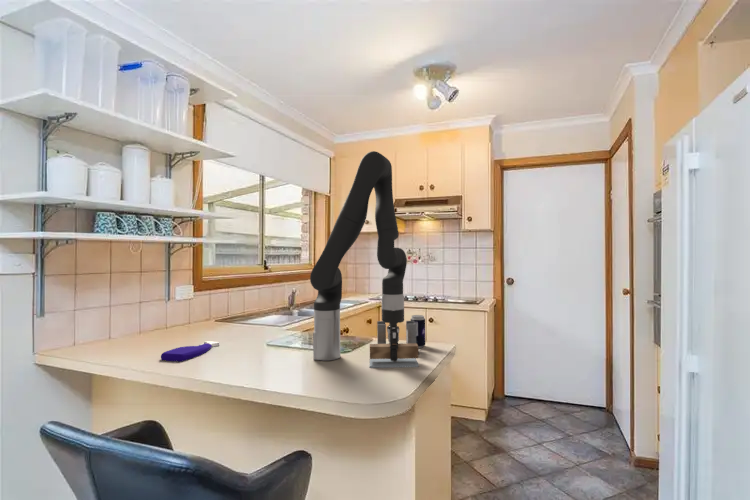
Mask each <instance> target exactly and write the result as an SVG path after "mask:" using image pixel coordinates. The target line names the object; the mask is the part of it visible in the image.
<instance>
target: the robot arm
mask: <svg viewBox="0 0 750 500" xmlns="http://www.w3.org/2000/svg"><path fill="white" fill-rule="evenodd" d="M373 190H374V192H375V211H374V218H375V219H374V221H375V226H376V232H377V244H376V245H377V248H376V258H377V262H378V264H379V265H380V267H382V269H385V270H387V274H386V275H385V276H384V277H383V278H382V281H381V289H382V290H381V293H382V295H381V321H383V322H385V324H386V323H387V324H388V326H387V325H386V333H387V339H388V344H390V359H391V361H397V349H398V344H399V342H400V341H399V340H400V335H399V334H400V326H398V323H400V324H401V323H403V322H404V321H405V298H404V278H405V273H406V270H407V265H408V259H407V255H406V252H405V250H404V249H403V248H401V247H395V240H397V239H398V238H399V227H398V221H397V217H396V212H395V211H396V209H395V203H394V195H393V167H392V163H391V161H390V160H389V159H388V158H387V157H386V156H384V155H383V154H382V153H380V152H378V151H373V150H372V151H369V152H367V153H365V154H364V156H363V157H362V158H361V160H360V163H359V165H358V168H357V170H356V174H355V176H354V180H353V183H352V185H351V188H350V190H349V193H348V195H347V196H346V199H345V200H344V203H343V206H342V207H341V210H340V212H339V214H338V216H337V219H336V221H335V223H334V224H333V225H334V226H333V228H332V230H331V232H330V234H329V236H328V239H327V242H326V245H325V246H324V249H323V250H322V252H321V254H320V256H319V257H318V260H317V261H316V262H315V265H314V266H313V268H312V270H311V272H310V275H309V276H310V277H309V279H310V284H311V286H312V287H313V289H314V290H316V291H317V295H316V298H315V300H314V301H313V332H312V340H313V341H312V342H313V343H312V345H313V346H312V351H313V352H312V353H313V360H316V361H317V360H318V361H334V360H338V359H340V358H341V302H342V297H343V275H342V271H341V269H340V268H339V266H340V264H341V262H342V259H343V258H344V257H345V255H346V254H347V252H349V249H351V247H352V246H353V245H354V244H355V242H356V241H357V239H358V238H359V235H360V234H361V231H362V229H363V227H364V225H365V223H366V220H367V215H368V210H369V209H368V208H369V202H370V196H371V194H372V191H373ZM392 344H396V345H392Z"/></svg>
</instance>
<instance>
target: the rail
mask: <svg viewBox="0 0 750 500" xmlns="http://www.w3.org/2000/svg"><path fill="white" fill-rule="evenodd" d="M392 345H396V344H392ZM418 351H419V348H418V345H417V343H398V349H397V359H411V358H416V359H419V355H418ZM370 359H390V344H389V343H386V344H377V343H369V360H370Z"/></svg>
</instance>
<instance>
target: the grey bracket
mask: <svg viewBox="0 0 750 500" xmlns="http://www.w3.org/2000/svg"><path fill="white" fill-rule="evenodd" d="M405 327H406V329H405V334H406V336H405V337H406V338H405V339H406V340H405V341H406V343H416V324H414V321H411V320H406V321H405ZM406 343H405V344H406ZM419 355H420V351H419V350H418V356H419Z"/></svg>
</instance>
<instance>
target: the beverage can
mask: <svg viewBox="0 0 750 500" xmlns="http://www.w3.org/2000/svg"><path fill="white" fill-rule="evenodd" d="M410 321H414V324H416V343H417V345H418V349H420V348H421V349H422V348H424V347H425V345H426V318H425V315H423V314H413V315H411V318H410Z"/></svg>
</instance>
